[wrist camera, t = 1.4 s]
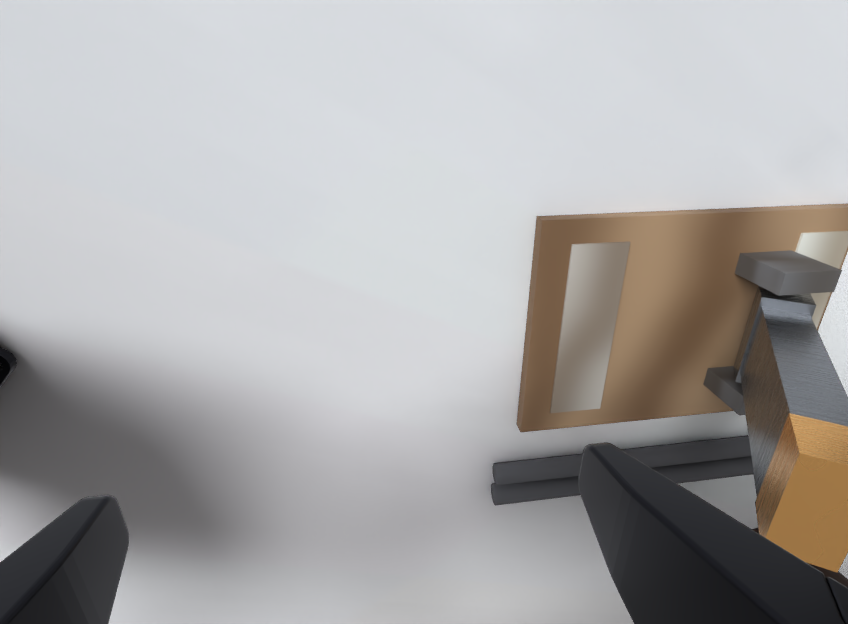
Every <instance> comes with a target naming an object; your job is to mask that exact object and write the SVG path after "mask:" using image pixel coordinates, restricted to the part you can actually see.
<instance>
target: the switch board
mask: <svg viewBox="0 0 848 624" xmlns="http://www.w3.org/2000/svg"><path fill="white" fill-rule="evenodd" d="M847 252H848V204H828V205H803V206H779V207H754V208H730V209H705V210H680V211H656V212H631V213H607V214H582V215H557V216H537V220H536V230H535V240H534V251H533V261H532V271H531V282H530V292H529V302H528V312H527V323H526V333H525V343H524V354H523V364H522V374H521V384H520V395H519V405H518V415H517V426H518V428H519V430H520V432H528V431H538V430H548V429H558V428H568V427H578V426H588V425H597V424H607V423H617V422H627V421H637V420H647V419H657V418H667V417H677V416H686V415H696V414H706V413H716V412H726V411H735V412H736V413H737V414H738V415H746V412H745V405H744V397H743V390H742V383H738V382H735V375H734V363H735V360H736V357H737V354H738V350H739V347H740V344H741V341H742V337H743V334H744V331H745V328H746V324H747V321H748V318H749V315H750V311H751V308H752V305H753V302H754V298H755V295H756V292H757V288H758V286H760V287H762V288H764V289H766V290H768V291H770V292H772V293H774V294H776V295H778V296H781V295H795V294H811V296H812V298H813V300H814V302H815V304H816V308H815V311H814V314H813V316H812V320H813V322H814V324H815V327H816V329H817V331H818V328H819V326H820V323H821V321H822V318H823V315H824V313H825V310H826V307H827V305H828V302H829V299H830V297H831V294H832V292H834V290H835V287H836V285H837V282H838V279H839V277H840V274H841V271H842V270H841V267H842V265H843V262H844V260H845V257H846V254H847Z"/></svg>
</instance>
